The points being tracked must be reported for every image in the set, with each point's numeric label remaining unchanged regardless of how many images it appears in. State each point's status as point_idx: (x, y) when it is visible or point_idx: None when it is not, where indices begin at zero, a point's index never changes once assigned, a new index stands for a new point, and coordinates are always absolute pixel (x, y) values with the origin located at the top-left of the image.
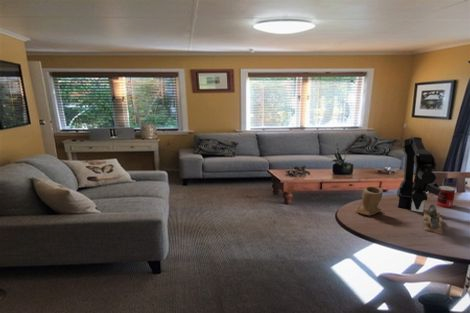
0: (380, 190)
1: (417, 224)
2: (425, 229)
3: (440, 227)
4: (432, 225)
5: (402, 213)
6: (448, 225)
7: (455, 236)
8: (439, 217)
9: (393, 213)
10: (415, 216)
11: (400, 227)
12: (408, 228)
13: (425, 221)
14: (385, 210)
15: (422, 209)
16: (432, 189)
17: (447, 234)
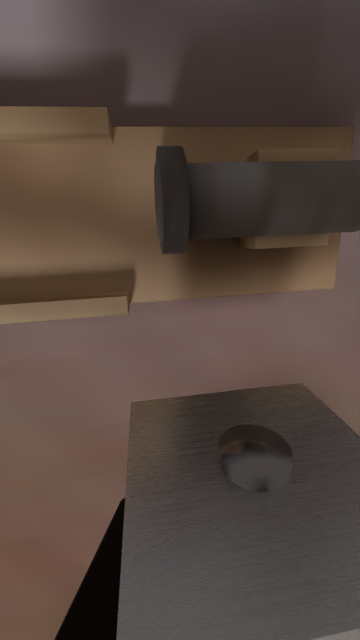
0: None
1: (212, 343)
2: (331, 281)
3: (231, 147)
4: (350, 230)
5: (11, 473)
6: (36, 44)
7: (340, 4)
8: None
9: (70, 519)
10: (5, 379)
11: None
12: (330, 387)
13: (142, 293)
14: (42, 570)
15: (331, 424)
16: None
17: (322, 88)
